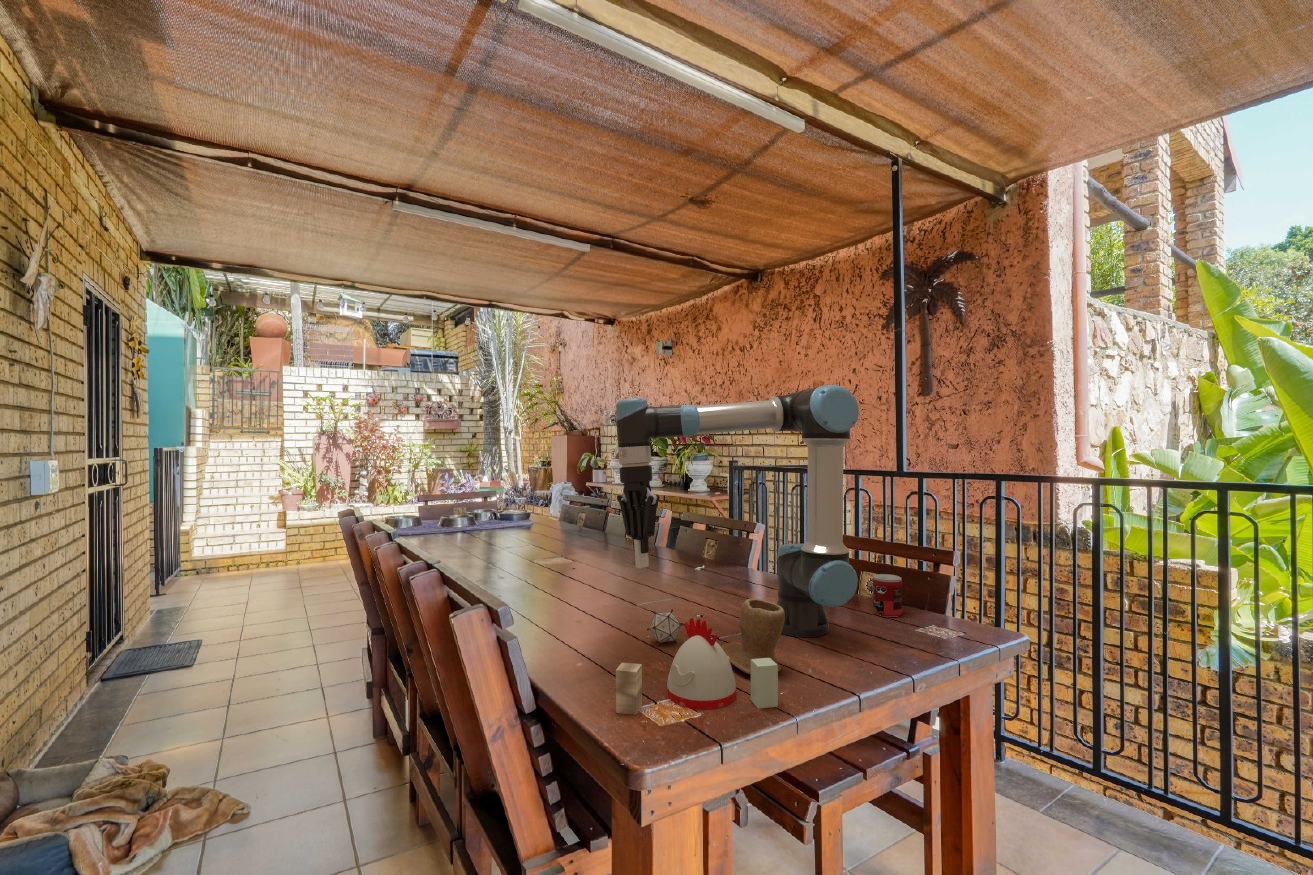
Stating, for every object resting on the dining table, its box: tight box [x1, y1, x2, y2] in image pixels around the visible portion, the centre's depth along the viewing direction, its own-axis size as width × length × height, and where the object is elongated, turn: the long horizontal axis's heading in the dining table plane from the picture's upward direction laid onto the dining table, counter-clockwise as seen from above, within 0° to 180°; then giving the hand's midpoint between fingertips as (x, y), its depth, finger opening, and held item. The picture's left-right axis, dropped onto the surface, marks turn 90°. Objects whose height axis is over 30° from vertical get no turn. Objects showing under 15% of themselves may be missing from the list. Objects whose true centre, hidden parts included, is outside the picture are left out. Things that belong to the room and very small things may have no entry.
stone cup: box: [720, 598, 785, 676], centre depth 135 cm, size 15×12×15 cm
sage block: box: [750, 658, 779, 710], centre depth 116 cm, size 4×4×8 cm
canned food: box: [872, 573, 903, 617], centre depth 176 cm, size 8×8×11 cm
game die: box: [646, 608, 685, 647], centre depth 152 cm, size 9×8×10 cm
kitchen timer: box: [666, 617, 737, 710], centre depth 121 cm, size 14×14×15 cm
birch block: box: [615, 662, 643, 716], centre depth 114 cm, size 4×4×8 cm
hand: (642, 566), depth 138 cm, fingers closed
